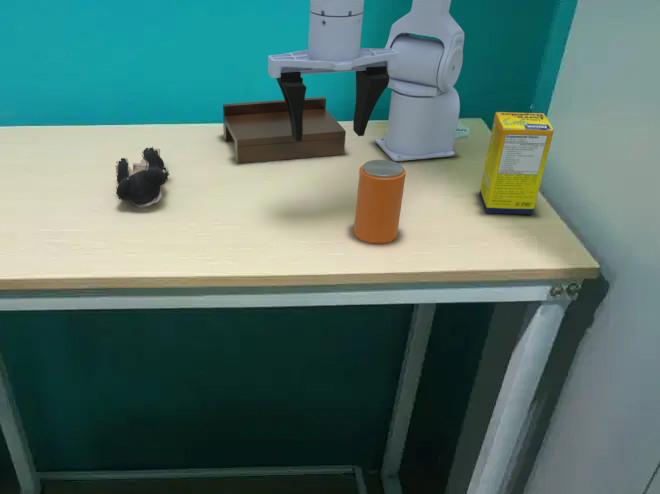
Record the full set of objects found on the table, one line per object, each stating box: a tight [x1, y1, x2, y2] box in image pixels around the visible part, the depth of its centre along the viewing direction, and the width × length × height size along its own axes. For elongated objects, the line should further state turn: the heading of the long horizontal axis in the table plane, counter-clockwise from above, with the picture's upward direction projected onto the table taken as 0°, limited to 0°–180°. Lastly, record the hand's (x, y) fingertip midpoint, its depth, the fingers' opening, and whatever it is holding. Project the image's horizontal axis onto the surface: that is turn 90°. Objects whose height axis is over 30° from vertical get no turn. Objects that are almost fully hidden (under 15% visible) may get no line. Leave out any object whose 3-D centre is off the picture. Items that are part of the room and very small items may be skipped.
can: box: [353, 159, 407, 244], centre depth 86 cm, size 5×5×8 cm
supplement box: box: [478, 111, 555, 215], centre depth 91 cm, size 6×6×11 cm
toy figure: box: [115, 146, 170, 209], centre depth 97 cm, size 7×6×15 cm
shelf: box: [222, 96, 347, 164], centre depth 109 cm, size 16×11×5 cm
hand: (327, 135), depth 87 cm, fingers open, 7 cm apart
